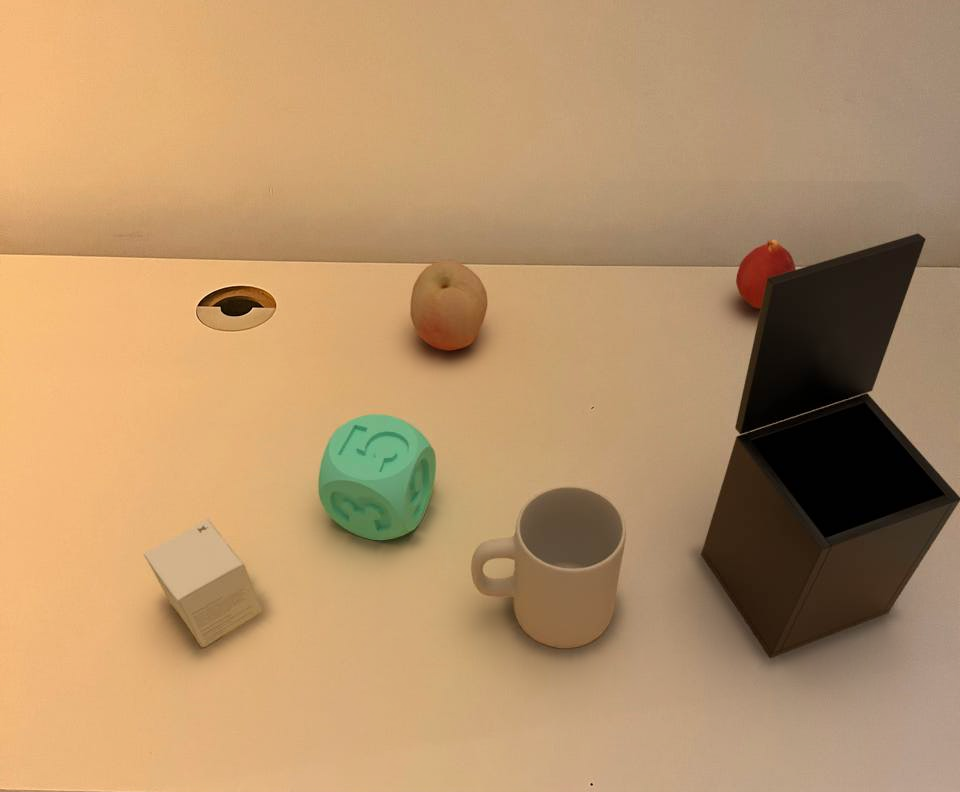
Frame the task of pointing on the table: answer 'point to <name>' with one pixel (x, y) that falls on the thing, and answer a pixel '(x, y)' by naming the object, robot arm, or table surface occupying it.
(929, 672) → the table surface
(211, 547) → the product box
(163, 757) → the table surface
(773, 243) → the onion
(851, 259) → the lid
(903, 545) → the dark wooden storage box
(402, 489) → the decorative dice
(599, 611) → the mug
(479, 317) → the fruit
